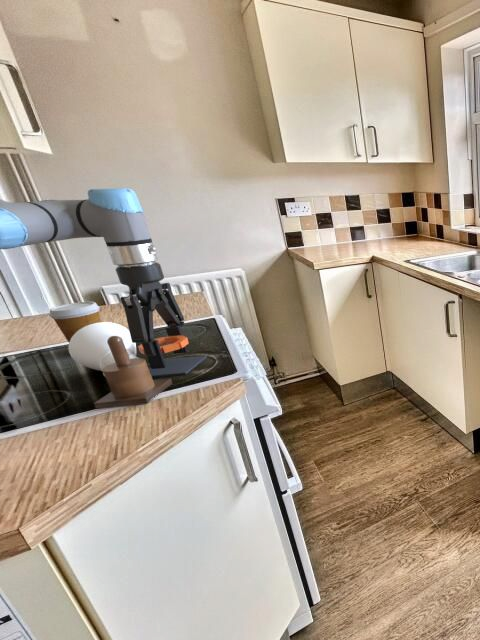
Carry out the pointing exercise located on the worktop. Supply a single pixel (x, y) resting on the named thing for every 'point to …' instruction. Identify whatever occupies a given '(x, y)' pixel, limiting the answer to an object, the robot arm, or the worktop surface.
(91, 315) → the disposable coffee cup
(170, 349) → the ring
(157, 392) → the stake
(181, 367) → the mat
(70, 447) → the worktop surface
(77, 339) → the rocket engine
